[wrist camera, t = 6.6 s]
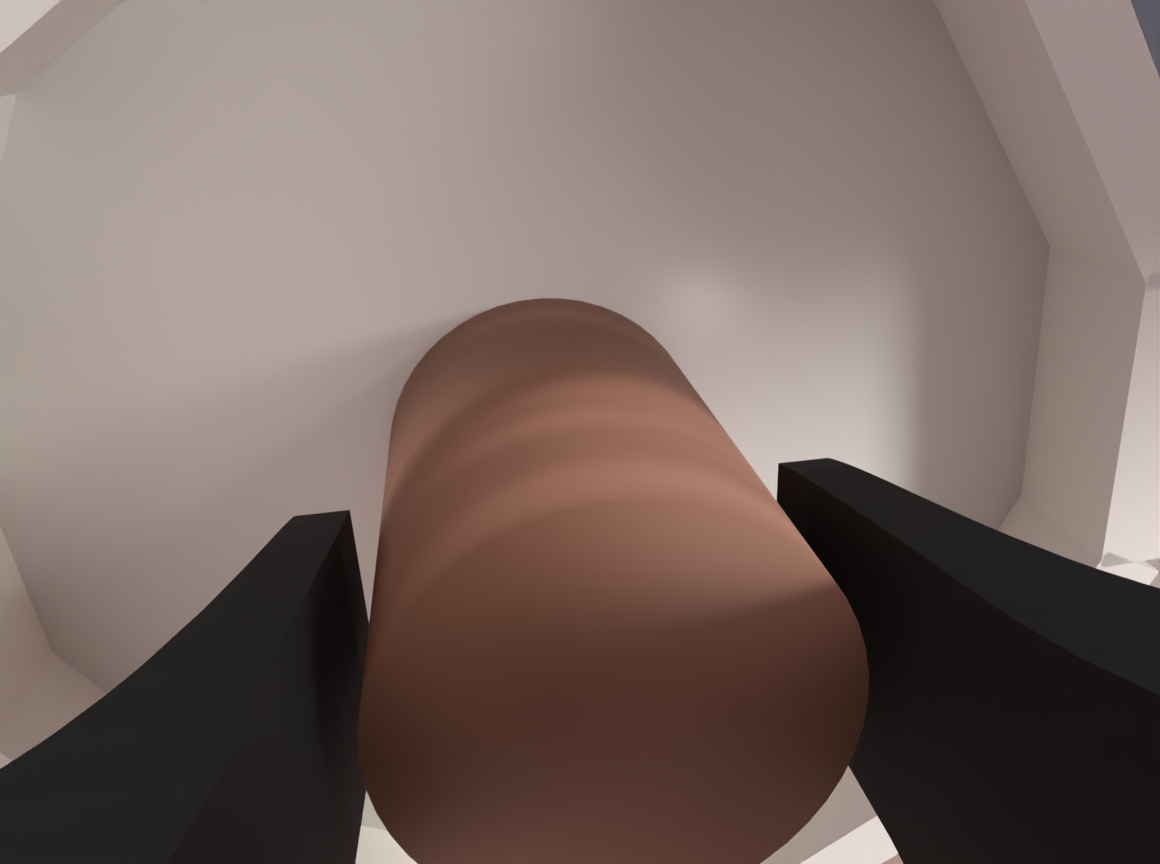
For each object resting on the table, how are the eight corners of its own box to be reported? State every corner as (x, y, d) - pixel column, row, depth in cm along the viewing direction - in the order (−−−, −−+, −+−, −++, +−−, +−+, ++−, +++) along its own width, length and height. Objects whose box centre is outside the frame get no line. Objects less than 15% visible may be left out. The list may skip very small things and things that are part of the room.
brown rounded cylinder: (567, 230, 12) (673, 386, 7) (754, 456, 14) (957, 726, 9) (322, 439, 13) (239, 733, 8) (528, 631, 15) (583, 986, 9)
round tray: (715, -646, 10) (808, -860, 7) (1217, 497, 17) (1347, 578, 14) (-410, 346, 12) (-618, 430, 9) (451, 984, 19) (454, 1124, 16)
